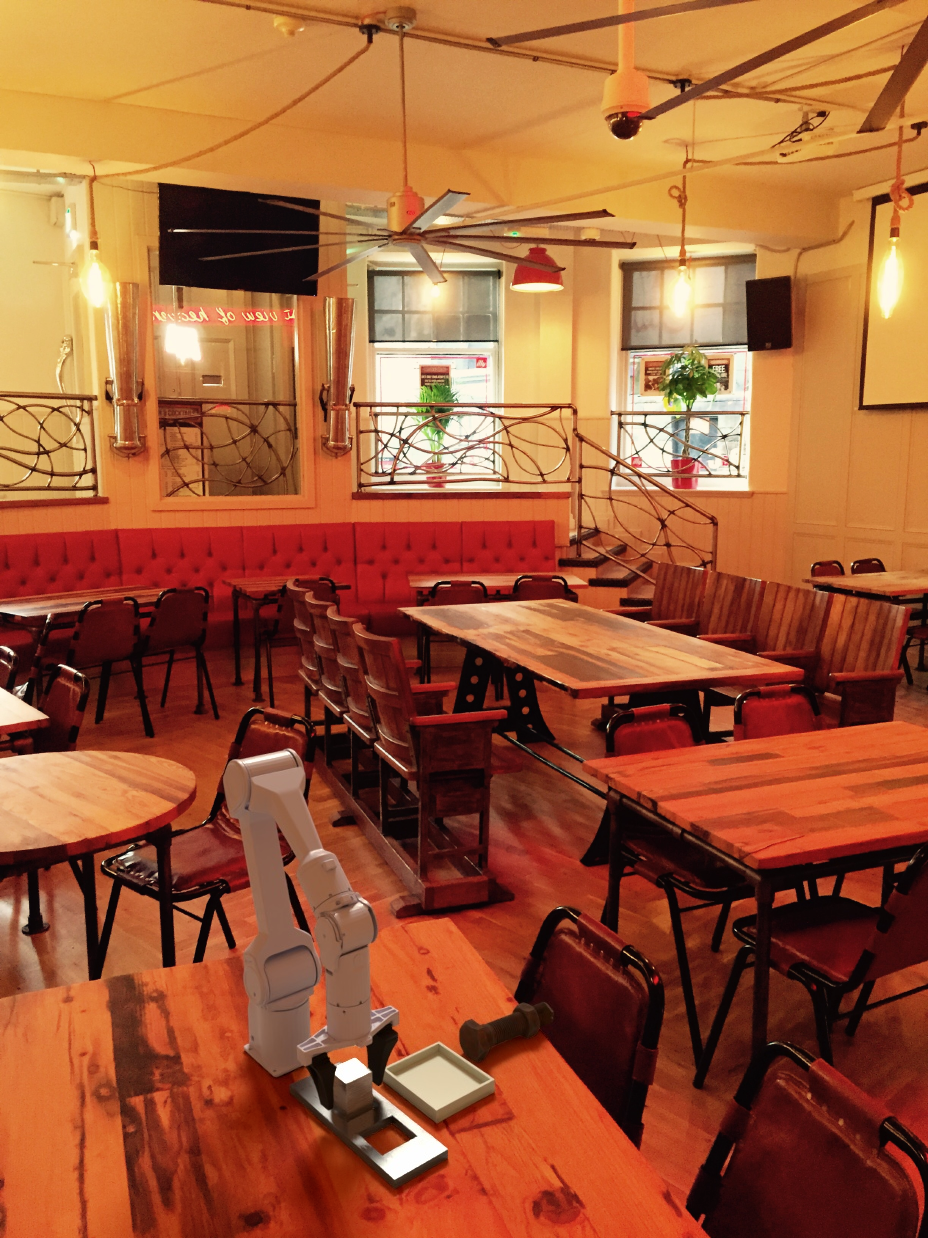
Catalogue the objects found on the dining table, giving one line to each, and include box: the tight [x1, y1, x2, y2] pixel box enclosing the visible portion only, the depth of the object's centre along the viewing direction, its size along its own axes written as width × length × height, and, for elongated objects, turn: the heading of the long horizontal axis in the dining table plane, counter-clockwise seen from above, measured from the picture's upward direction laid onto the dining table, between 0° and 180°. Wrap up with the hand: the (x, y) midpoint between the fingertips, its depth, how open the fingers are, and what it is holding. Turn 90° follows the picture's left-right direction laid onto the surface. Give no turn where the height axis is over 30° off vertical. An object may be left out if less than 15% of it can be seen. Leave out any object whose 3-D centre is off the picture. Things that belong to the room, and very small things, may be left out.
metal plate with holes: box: [289, 1061, 449, 1190], centre depth 125 cm, size 24×8×1 cm, turn 40°
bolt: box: [458, 1001, 555, 1063], centre depth 143 cm, size 6×5×15 cm
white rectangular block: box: [331, 1057, 374, 1123], centre depth 127 cm, size 4×4×6 cm
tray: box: [382, 1041, 496, 1124], centre depth 133 cm, size 12×10×2 cm
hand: (351, 1094), depth 127 cm, fingers open, 7 cm apart
